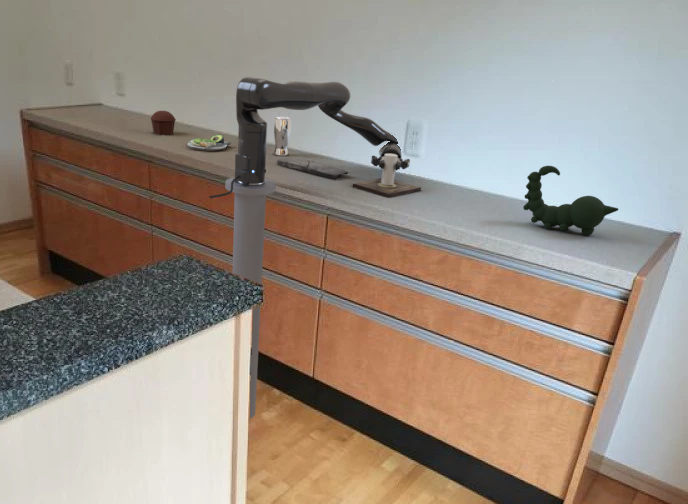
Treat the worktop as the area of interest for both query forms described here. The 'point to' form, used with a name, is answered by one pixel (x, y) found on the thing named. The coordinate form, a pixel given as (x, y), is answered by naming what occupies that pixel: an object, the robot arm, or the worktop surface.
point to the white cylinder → (389, 169)
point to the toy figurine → (564, 207)
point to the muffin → (163, 123)
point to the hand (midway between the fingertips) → (389, 166)
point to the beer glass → (282, 135)
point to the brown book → (386, 187)
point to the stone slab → (312, 167)
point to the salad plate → (209, 144)
